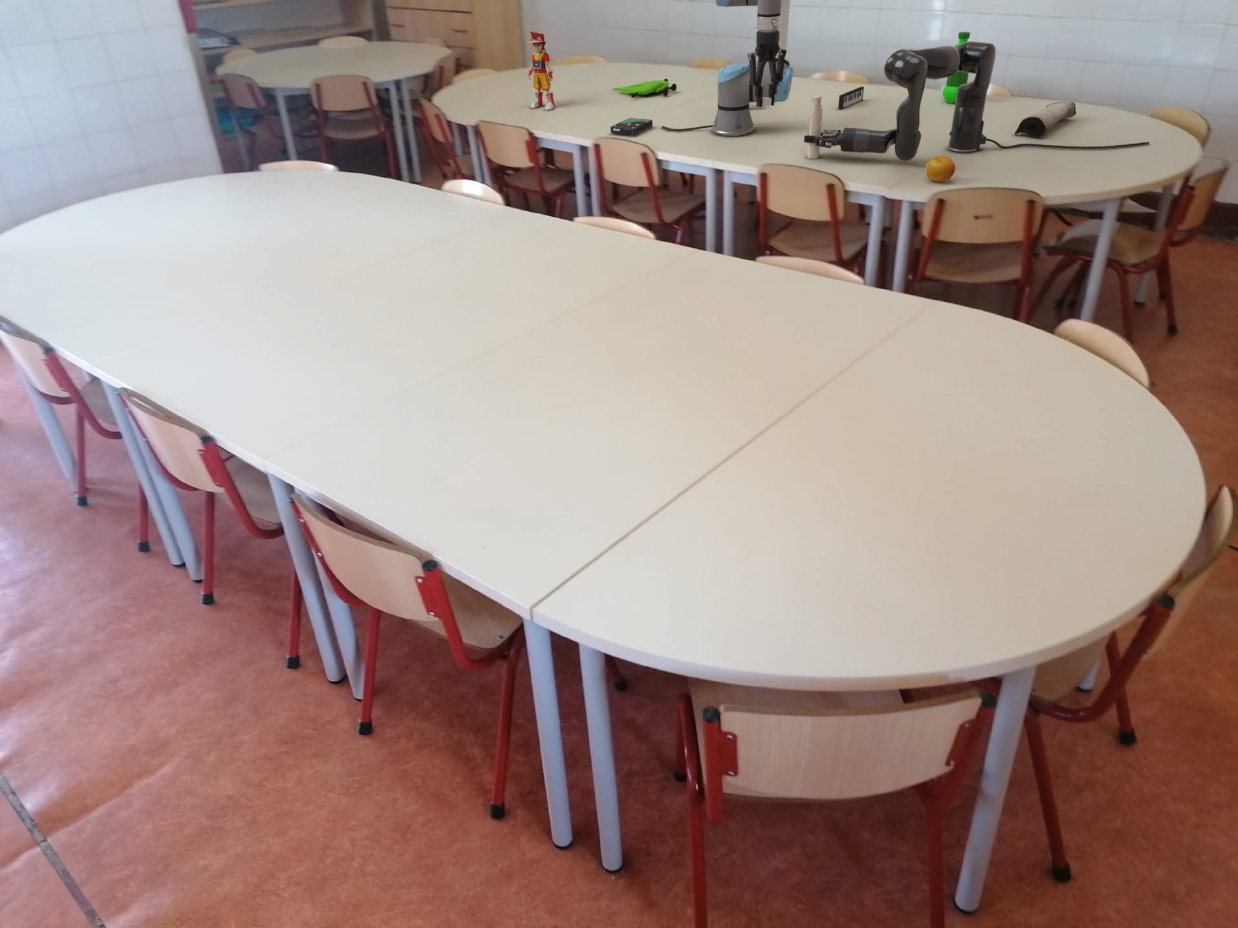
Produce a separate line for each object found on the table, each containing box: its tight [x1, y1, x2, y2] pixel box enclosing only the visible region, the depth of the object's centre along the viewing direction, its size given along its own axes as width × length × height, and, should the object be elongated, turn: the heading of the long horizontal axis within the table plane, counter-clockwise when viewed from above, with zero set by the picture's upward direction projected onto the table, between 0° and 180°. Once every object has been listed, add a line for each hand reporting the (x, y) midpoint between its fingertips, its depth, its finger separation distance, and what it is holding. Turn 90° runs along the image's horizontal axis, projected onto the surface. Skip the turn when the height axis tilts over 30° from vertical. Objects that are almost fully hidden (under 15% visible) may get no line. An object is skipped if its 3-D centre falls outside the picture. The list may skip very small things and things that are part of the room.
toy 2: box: [612, 78, 677, 99], centre depth 396 cm, size 28×5×30 cm
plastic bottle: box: [942, 31, 971, 104], centre depth 348 cm, size 10×10×25 cm
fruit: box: [925, 155, 956, 183], centre depth 276 cm, size 8×8×8 cm
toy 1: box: [527, 31, 556, 111], centre depth 374 cm, size 12×9×30 cm
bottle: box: [806, 94, 824, 160], centre depth 300 cm, size 4×4×20 cm
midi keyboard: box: [837, 85, 865, 110], centre depth 359 cm, size 18×1×5 cm, turn 138°
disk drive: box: [610, 117, 653, 136], centre depth 344 cm, size 10×3×15 cm
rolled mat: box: [1014, 100, 1077, 139], centre depth 318 cm, size 30×9×10 cm
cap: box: [762, 97, 771, 108], centre depth 304 cm, size 4×4×2 cm
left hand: (765, 105), depth 304 cm, fingers closed on cap, 4 cm apart
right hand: (806, 137), depth 303 cm, fingers closed on bottle, 4 cm apart
